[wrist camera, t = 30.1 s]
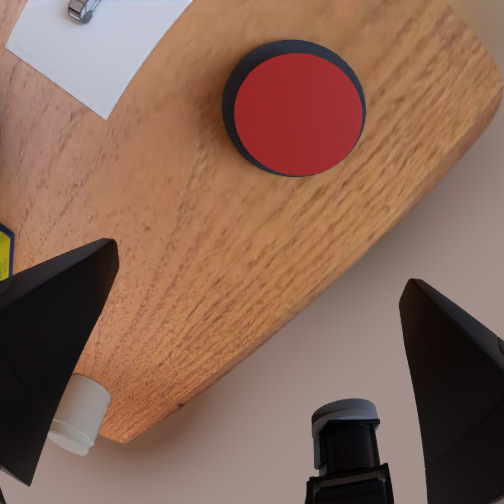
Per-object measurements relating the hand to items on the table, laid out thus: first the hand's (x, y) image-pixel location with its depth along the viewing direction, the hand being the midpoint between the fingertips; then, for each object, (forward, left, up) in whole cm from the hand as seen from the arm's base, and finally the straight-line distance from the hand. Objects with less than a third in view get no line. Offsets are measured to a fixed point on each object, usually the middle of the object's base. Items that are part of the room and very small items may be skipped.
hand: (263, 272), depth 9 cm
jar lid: (-1, -4, -9) cm, 10 cm away
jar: (+19, +28, -11) cm, 36 cm away
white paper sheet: (+12, -11, -11) cm, 20 cm away
